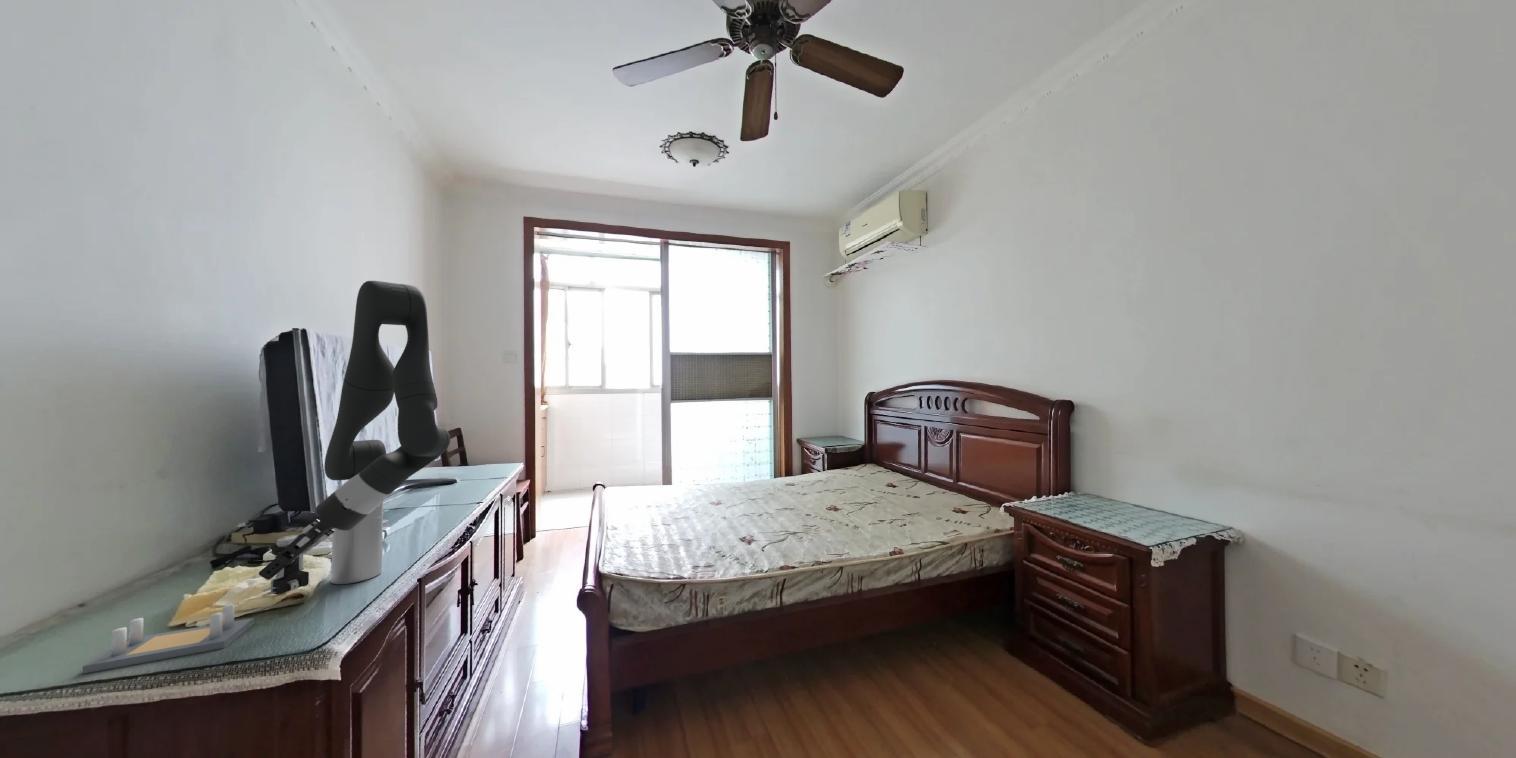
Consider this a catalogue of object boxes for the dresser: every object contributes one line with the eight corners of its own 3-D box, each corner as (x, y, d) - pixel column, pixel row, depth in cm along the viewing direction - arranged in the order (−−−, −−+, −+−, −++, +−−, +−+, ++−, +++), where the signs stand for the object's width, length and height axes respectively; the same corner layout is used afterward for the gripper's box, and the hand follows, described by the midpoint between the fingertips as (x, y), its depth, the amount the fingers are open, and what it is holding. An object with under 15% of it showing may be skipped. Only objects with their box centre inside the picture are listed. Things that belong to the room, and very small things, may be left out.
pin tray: (128, 645, 80) (129, 615, 80) (253, 624, 87) (254, 597, 87) (82, 673, 72) (83, 640, 72) (224, 647, 79) (225, 617, 79)
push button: (272, 601, 82) (274, 547, 82) (251, 596, 83) (253, 543, 83) (316, 585, 88) (317, 534, 88) (296, 581, 89) (297, 531, 89)
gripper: (351, 481, 96) (272, 547, 90) (322, 496, 83) (228, 574, 77) (382, 503, 98) (306, 568, 92) (359, 521, 85) (270, 598, 80)
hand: (271, 570), depth 85 cm, fingers closed on push button, 4 cm apart
